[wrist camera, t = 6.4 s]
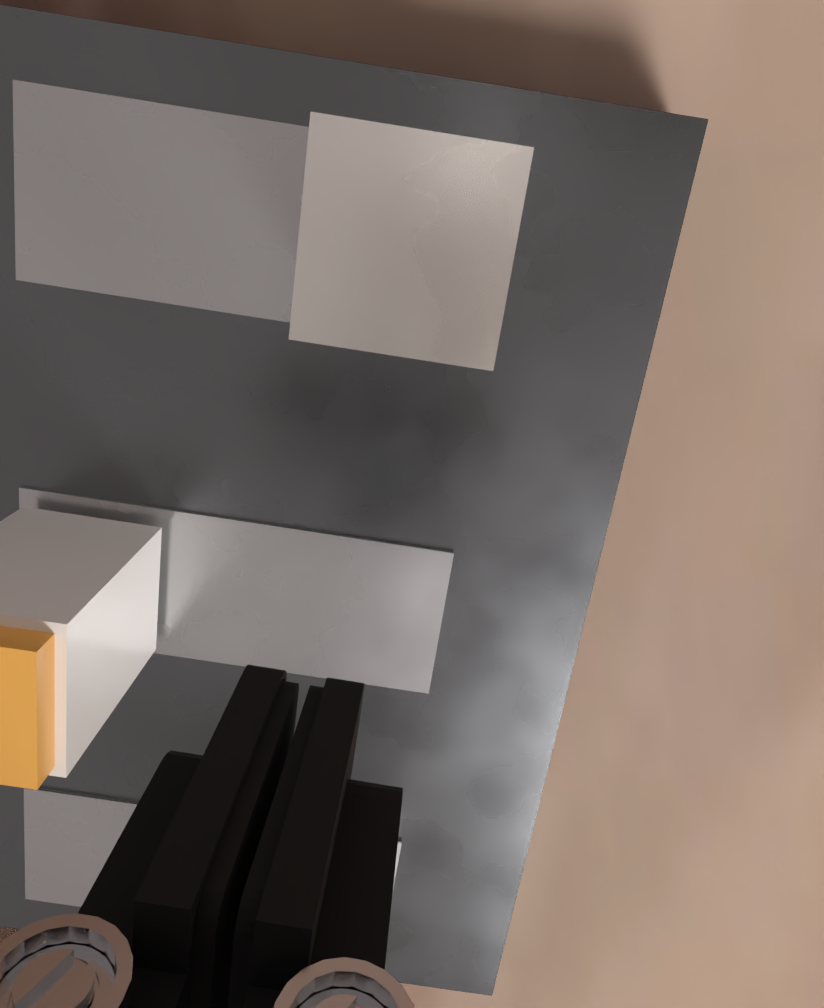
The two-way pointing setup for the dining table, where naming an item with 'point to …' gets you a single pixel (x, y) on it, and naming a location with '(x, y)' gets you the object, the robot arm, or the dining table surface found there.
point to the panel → (328, 417)
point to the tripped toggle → (69, 633)
